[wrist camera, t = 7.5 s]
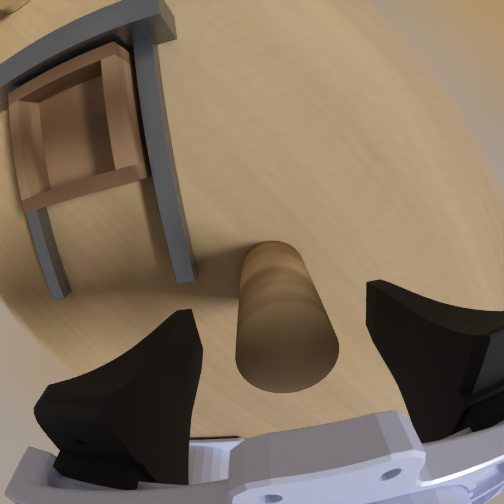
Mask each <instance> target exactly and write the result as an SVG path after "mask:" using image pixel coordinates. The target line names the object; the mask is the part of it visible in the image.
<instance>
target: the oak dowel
mask: <svg viewBox="0 0 504 504" xmlns="http://www.w3.org/2000/svg"><path fill="white" fill-rule="evenodd" d="M338 354H339V343H338V339H337V336H336V334H335V332H334V329H333V327H332V325H331V322H330V320H329V318H328V315H327V313H326V311H325V308H324V306H323V304H322V302H321V299H320V297H319V295H318V293H317V290H316V288H315V286H314V284H313V281H312V279H311V277H310V275H309V273H308V270H307V268H306V266H305V264H304V262H303V259H302V257H301V255H300V254H299V253H298V251H297V250H296V249H295V248H293V247H292V246H290V245H289V244H286V243H284V242H279V241H268V242H264V243H261V244H259V245H257V246H255V247H254V248H252V249H251V250H250V251H249V252H248V253H247V255H246V256H245V258H244V260H243V262H242V266H241V277H240V292H239V307H238V323H237V338H236V356H235V359H236V365H237V368H238V370H239V372H240V374H241V375H242V376H243V378H244V379H245V380H246V381H248V382H249V383H250V384H252V385H253V386H255V387H257V388H259V389H261V390H265V391H268V392H273V393H291V392H297V391H300V390H304V389H306V388H309V387H311V386H313V385H315V384H316V383H318V382H320V381H321V380H322V379H323V378H325V377H326V376H327V375H328V374H329V372H330V371H331V370H332V369H333V367H334V365H335V363H336V361H337V358H338Z"/></svg>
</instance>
